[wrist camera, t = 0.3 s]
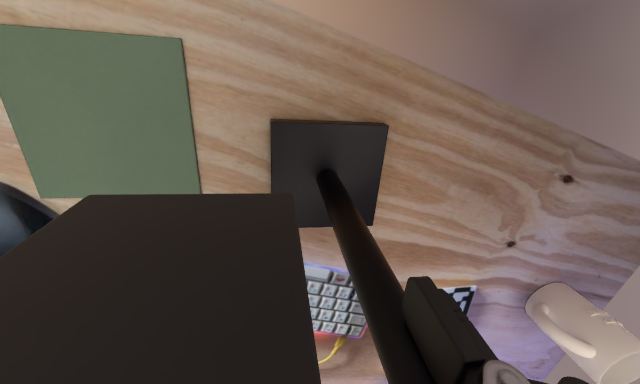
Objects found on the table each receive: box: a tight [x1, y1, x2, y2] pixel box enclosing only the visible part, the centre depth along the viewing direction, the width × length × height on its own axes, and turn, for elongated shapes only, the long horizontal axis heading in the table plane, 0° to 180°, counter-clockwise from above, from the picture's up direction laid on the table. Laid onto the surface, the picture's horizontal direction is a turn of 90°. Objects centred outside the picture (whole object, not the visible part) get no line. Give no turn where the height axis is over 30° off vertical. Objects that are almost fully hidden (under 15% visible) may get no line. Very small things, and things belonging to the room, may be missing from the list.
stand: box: [271, 119, 435, 384], centre depth 19 cm, size 12×17×27 cm
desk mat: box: [0, 24, 201, 198], centre depth 25 cm, size 15×15×1 cm
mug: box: [525, 282, 640, 384], centre depth 41 cm, size 8×12×12 cm
